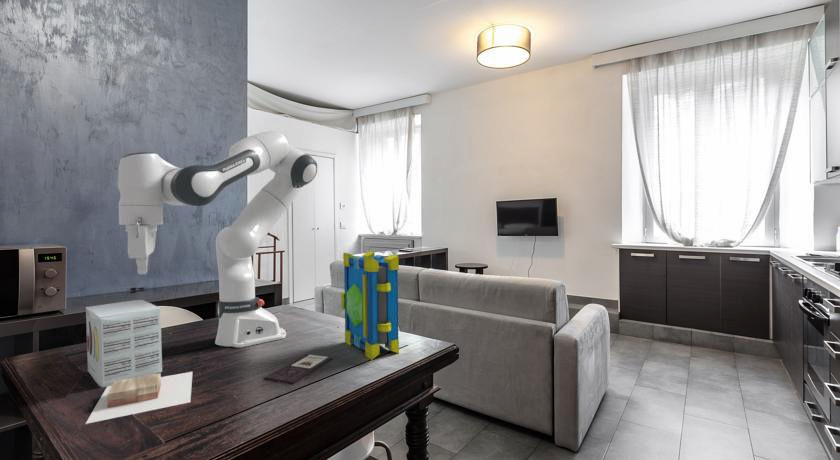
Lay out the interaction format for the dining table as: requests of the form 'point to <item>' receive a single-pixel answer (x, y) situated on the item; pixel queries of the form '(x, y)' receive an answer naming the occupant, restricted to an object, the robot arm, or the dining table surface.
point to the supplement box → (123, 341)
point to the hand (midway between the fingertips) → (142, 273)
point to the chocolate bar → (298, 369)
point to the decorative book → (371, 302)
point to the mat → (170, 394)
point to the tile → (134, 390)
